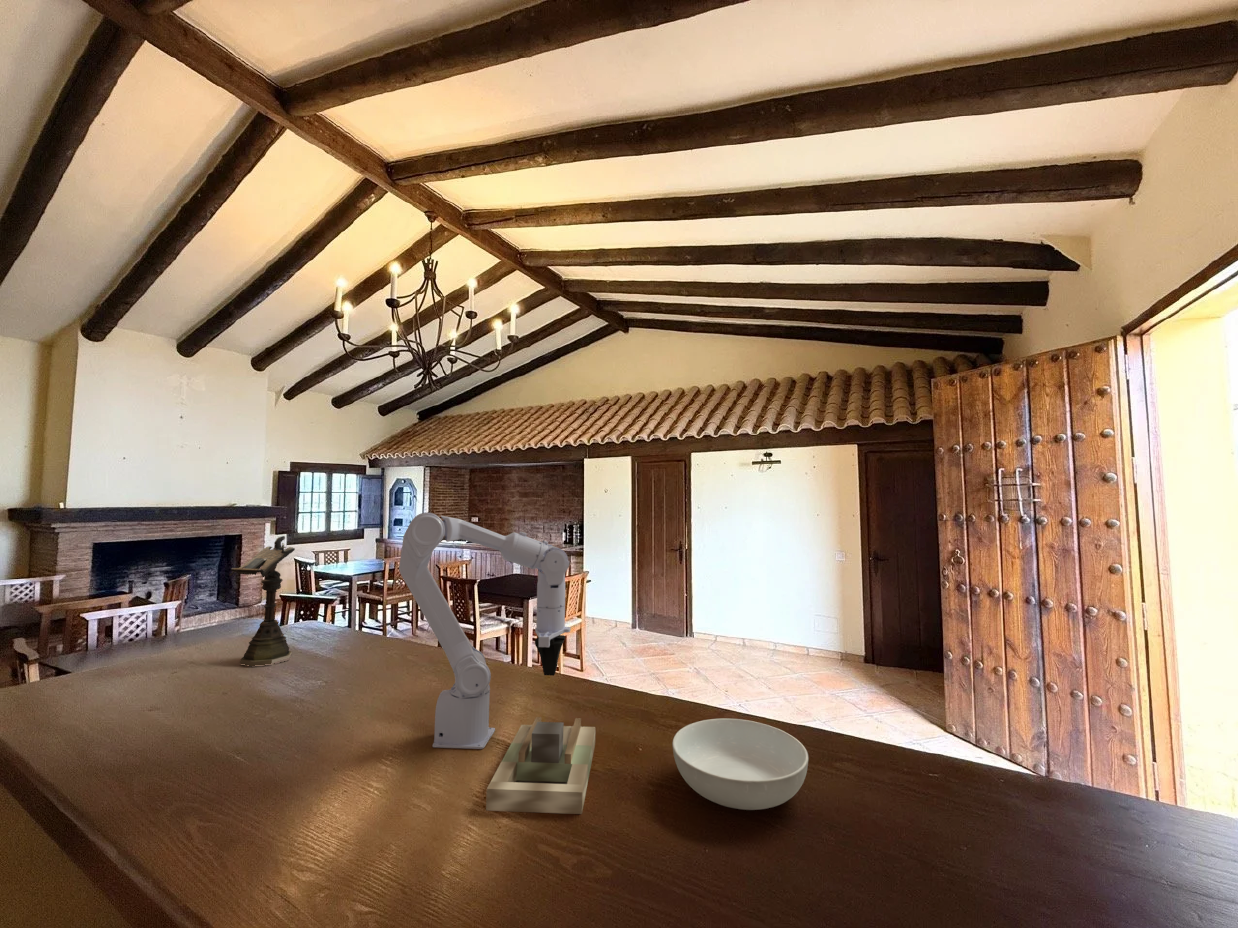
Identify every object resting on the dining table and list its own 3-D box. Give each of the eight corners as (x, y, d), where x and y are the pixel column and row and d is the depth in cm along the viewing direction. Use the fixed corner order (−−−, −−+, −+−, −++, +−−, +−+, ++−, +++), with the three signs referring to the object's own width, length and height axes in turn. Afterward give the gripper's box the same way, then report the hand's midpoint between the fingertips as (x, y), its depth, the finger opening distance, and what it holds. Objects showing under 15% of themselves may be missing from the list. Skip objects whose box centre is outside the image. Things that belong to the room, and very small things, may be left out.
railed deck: (486, 810, 74) (487, 777, 75) (521, 741, 96) (521, 716, 97) (581, 813, 74) (582, 781, 74) (595, 743, 96) (595, 718, 96)
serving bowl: (668, 756, 91) (668, 716, 92) (786, 759, 91) (785, 719, 91) (677, 829, 71) (677, 777, 71) (830, 834, 70) (829, 781, 71)
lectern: (245, 675, 131) (255, 537, 133) (211, 669, 135) (221, 536, 138) (305, 657, 146) (312, 534, 149) (272, 652, 150) (280, 533, 153)
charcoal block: (531, 762, 82) (531, 733, 83) (536, 749, 87) (537, 721, 87) (558, 763, 82) (559, 734, 83) (563, 749, 87) (563, 722, 87)
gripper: (565, 613, 97) (564, 687, 96) (575, 599, 111) (574, 663, 110) (528, 612, 97) (526, 686, 96) (542, 598, 111) (541, 662, 110)
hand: (549, 674), depth 103 cm, fingers closed
